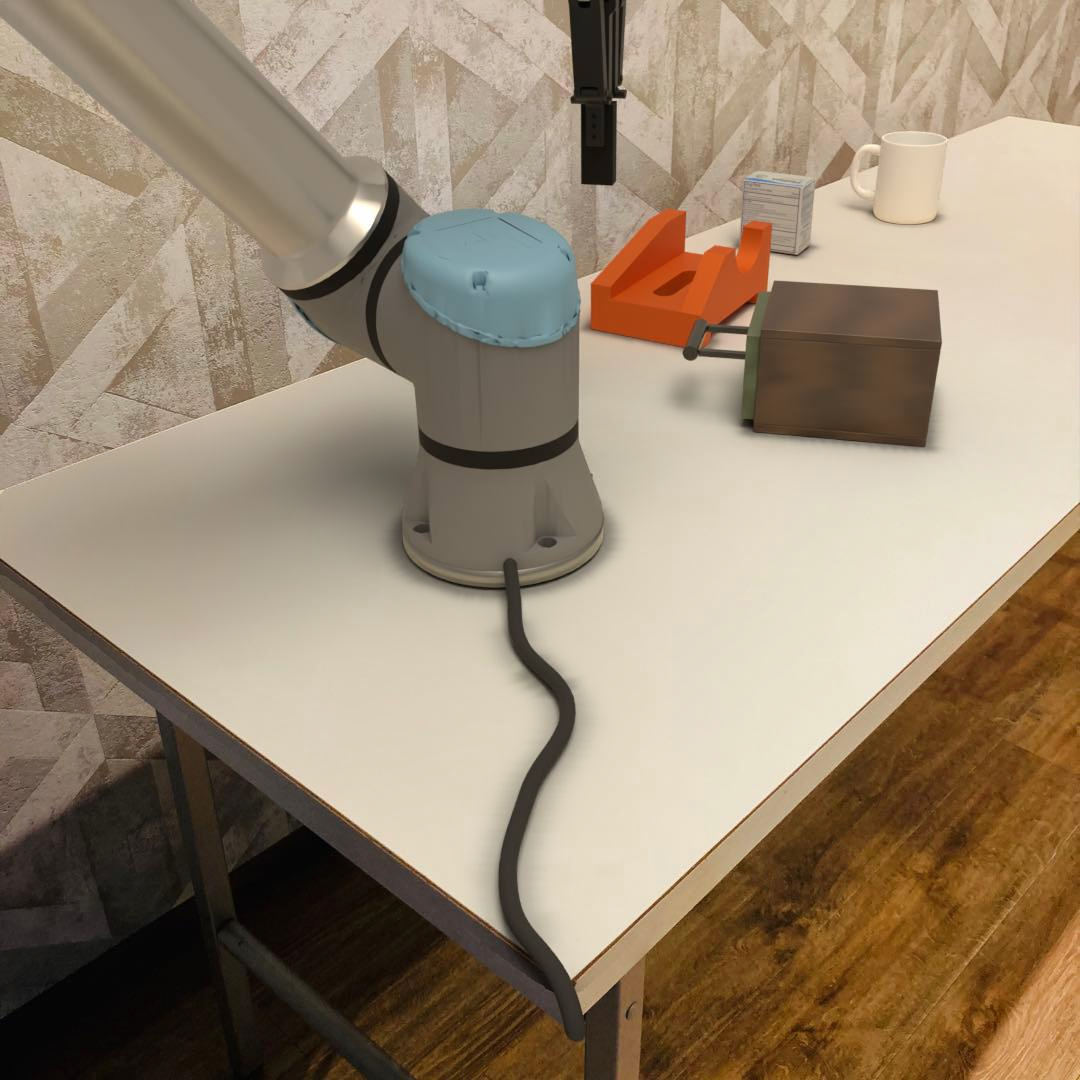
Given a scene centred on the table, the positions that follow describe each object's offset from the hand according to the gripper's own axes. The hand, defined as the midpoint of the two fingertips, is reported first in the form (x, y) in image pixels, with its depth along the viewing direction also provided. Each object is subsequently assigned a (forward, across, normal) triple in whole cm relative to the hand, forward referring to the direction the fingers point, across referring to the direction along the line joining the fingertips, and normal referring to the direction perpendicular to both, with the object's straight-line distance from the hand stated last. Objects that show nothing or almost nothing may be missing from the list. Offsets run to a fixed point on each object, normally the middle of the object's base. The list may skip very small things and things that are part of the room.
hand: (598, 182), depth 101 cm
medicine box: (+21, +50, -12) cm, 55 cm away
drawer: (+19, +3, -17) cm, 26 cm away
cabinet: (+20, +3, -22) cm, 30 cm away
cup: (+20, +67, -26) cm, 75 cm away
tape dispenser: (+21, +25, -4) cm, 33 cm away
